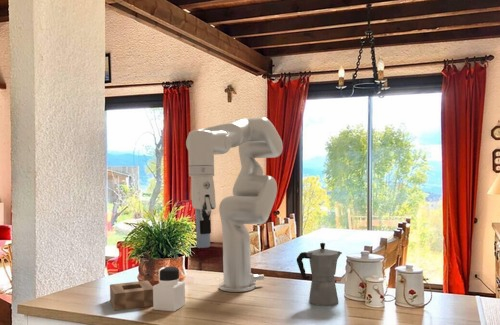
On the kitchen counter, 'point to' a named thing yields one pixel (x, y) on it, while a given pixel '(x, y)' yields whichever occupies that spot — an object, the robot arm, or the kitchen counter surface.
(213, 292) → the kitchen counter surface
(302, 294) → the kitchen counter surface
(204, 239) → the peg
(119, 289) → the socket
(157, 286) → the medicine bottle
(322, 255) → the coffeepot
